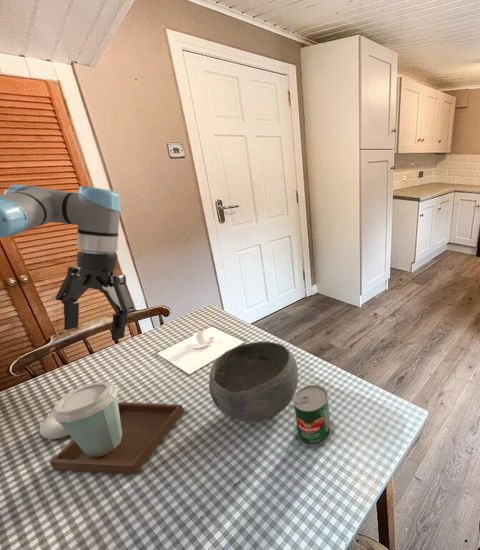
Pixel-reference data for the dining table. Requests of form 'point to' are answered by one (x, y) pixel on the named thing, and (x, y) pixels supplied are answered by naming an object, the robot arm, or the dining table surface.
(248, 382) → the bowl
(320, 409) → the canned tomato
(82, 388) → the disposable coffee cup
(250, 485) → the dining table surface
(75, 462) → the tray
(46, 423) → the donut
